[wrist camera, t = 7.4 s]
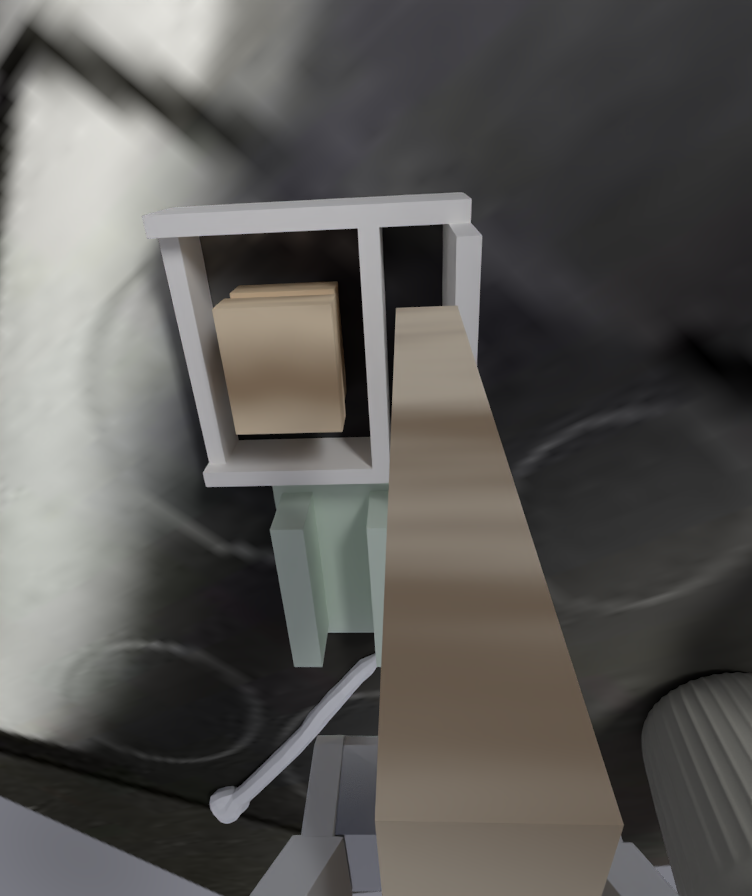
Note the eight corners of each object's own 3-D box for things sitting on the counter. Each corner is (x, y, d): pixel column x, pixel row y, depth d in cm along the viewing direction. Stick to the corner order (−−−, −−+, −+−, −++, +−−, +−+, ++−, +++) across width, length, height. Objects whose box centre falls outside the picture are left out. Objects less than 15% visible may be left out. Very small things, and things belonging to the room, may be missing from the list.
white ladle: (346, 632, 45) (343, 661, 42) (388, 653, 45) (387, 682, 43) (207, 791, 57) (198, 821, 54) (242, 805, 57) (235, 834, 55)
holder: (274, 472, 37) (257, 516, 32) (409, 469, 36) (410, 513, 32) (299, 623, 44) (287, 676, 39) (412, 622, 43) (414, 676, 39)
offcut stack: (235, 281, 31) (201, 309, 26) (342, 277, 31) (331, 304, 25) (254, 397, 34) (228, 443, 29) (351, 394, 34) (343, 440, 29)
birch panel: (396, 308, 16) (374, 820, 4) (457, 305, 16) (624, 825, 4) (405, 585, 22) (409, 1162, 9) (451, 585, 22) (514, 1169, 9)
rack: (172, 207, 29) (100, 227, 22) (462, 191, 28) (483, 208, 21) (224, 453, 36) (182, 528, 29) (456, 448, 35) (470, 523, 28)
